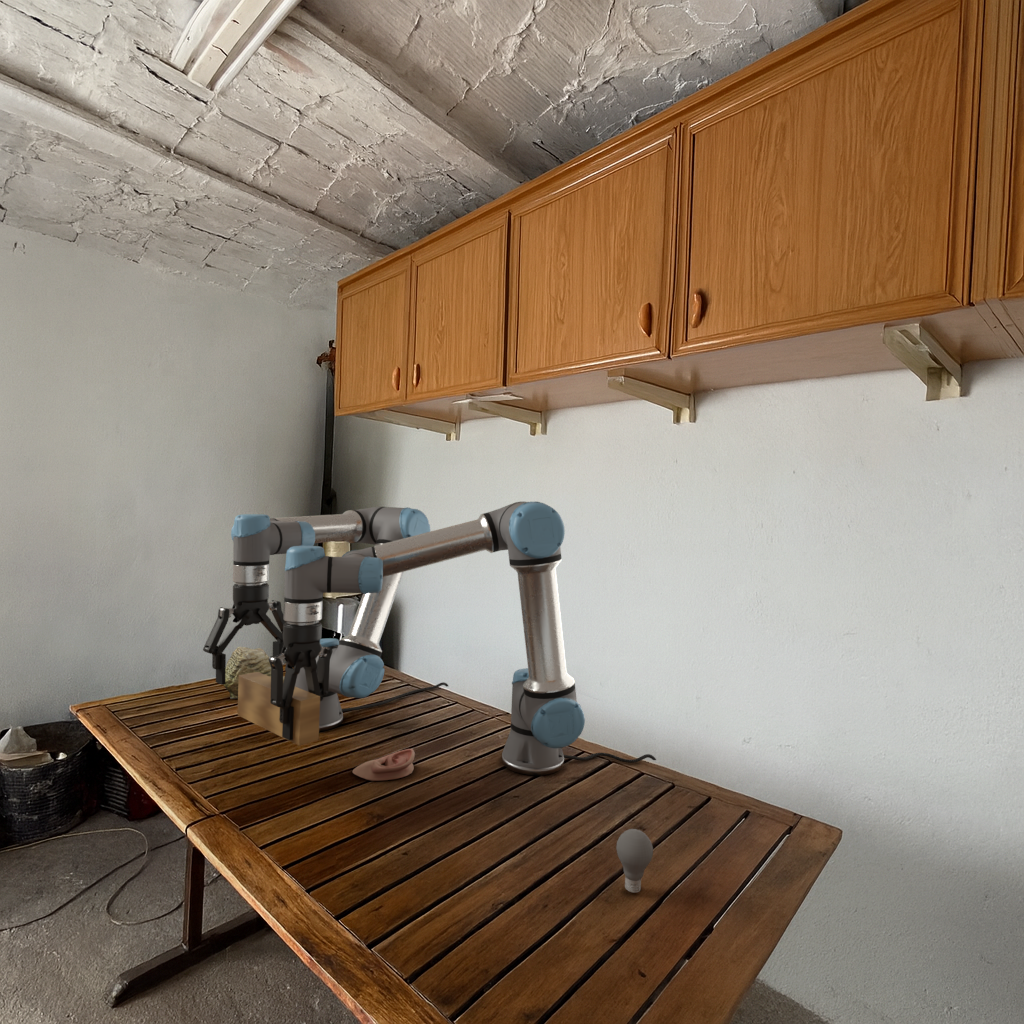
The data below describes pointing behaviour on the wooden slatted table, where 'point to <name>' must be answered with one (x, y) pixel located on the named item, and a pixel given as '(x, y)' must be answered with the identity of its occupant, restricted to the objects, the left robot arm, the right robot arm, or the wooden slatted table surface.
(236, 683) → the fossil
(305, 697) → the bar
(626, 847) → the light bulb
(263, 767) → the wooden slatted table surface
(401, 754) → the anatomical model
